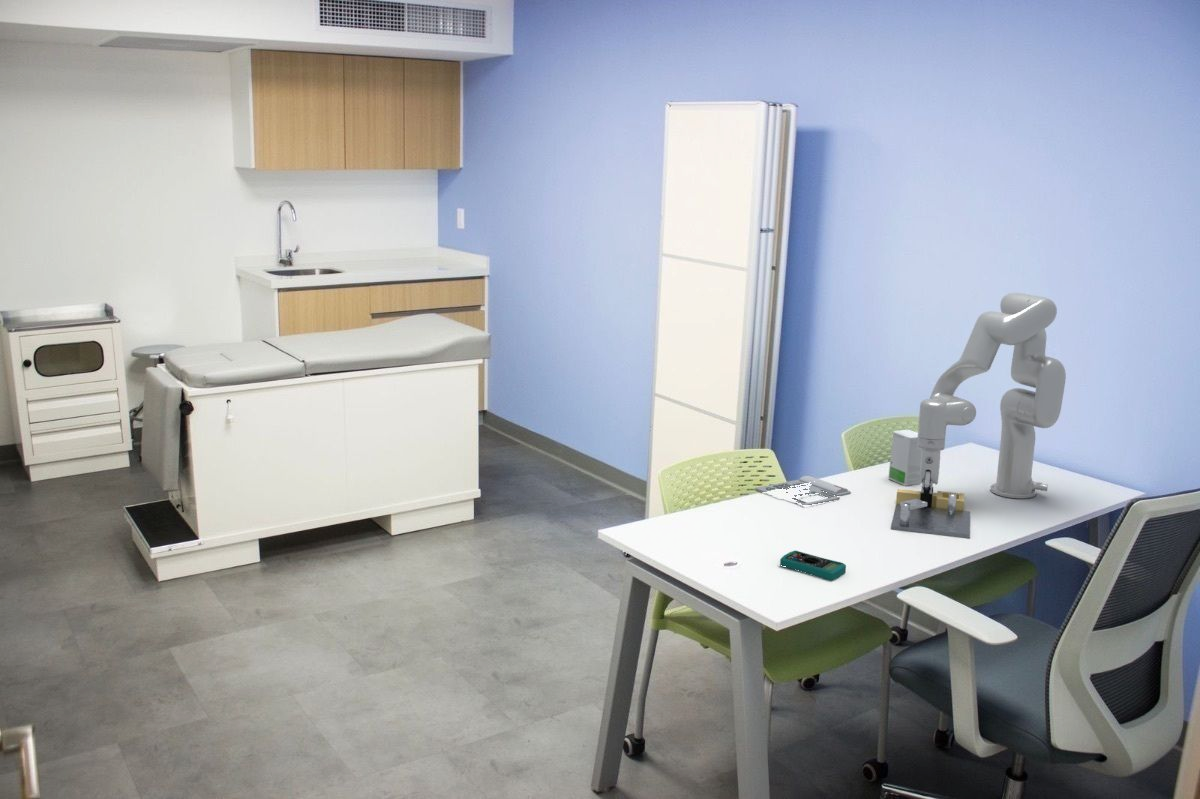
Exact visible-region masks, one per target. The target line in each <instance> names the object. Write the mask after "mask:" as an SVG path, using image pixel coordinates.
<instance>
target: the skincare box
mask: <svg viewBox="0 0 1200 799" xmlns="http://www.w3.org/2000/svg"><path fill="white" fill-rule="evenodd" d="M917 438H918V431H913V430H911V429H901V430H894V431H893V432H892V440H891V449H890V461H889V467H888V468H889V469H888V475H887V476H888V480H891V481H893V482H895V483H898V484H899V485H902V486H904V487H909V486H915V485H920V484H922V483H921V482H920V457H921V449H919V448H918V447H917Z"/></svg>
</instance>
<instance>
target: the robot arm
mask: <svg viewBox="0 0 1200 799" xmlns="http://www.w3.org/2000/svg"><path fill="white" fill-rule="evenodd" d="M999 305H1000V311H1001V312H999V311H985V312H982V313H981V314H980V315H979V316H978V318H977V319H976V322H975V324H974V326H973V328H972V329H971V333H970V336H969V338H968V339H967V343H966V345H965V347H964V349H963V352H962V353H961V356H960V358H959V359H958V361H956V362H955V363H953V364H952V365H951V366H950V367H948V368H947V369H946V371H944V372H943V373H942V374H941V375H940V376H939V377H938V379H937V381H936V383H935V385H934V387H933V389H932V391H931V394H930V397H929V398H926V399H923V400H922V401H921V402H920V404H919V415H918V416H919V417H918V428H917V433H918V438H917V447H918V448H919V449H921V457H920V482H921V484H922V485H921V490H920V491H922V493H921V496H920V500H921V501H924V502H927V506H926V507H931V506H932V493H934V485H935V486H936V485H938V484H939V479H940V464H941V451H944V450H945V449H946V448H945V447H946V446H945V445H946V433H947V432H946V431H947V426H957V427H958V426H960V427H962V426H966V425H970V423H972V422H974V420H975V419H976V416H977V409H976V406H975V405H974V404H973V403H972V402H971V401H969V400H967V399H963V398H960V397H959V396H954V394H955V392H956V390H957V389H958V387H959V386H960V385H961V384H962V383H963V382H964V381H966V380H968V379H970V378H973V377H975V376H977V375H978V376H979V375H981V374H984V373H987V372H988V371H990V369H991V367H992V365H993V362H994V360H995V358H996V355H997V353H998V351H999V349H1000V346H1001V344H1002V345H1006V346H1014V347H1013V352H1012V359H1011V367H1010V376H1011V379H1012V380H1013V381H1014V382H1015V383H1017V384H1019V385H1023V386H1027V387H1030V388H1033V389H1035V391H1033V390H1029V389H1026V388H1019V387H1017V388H1011V389H1009V390H1007V391H1006V392H1005V393H1003V395H1002V396H1001V400H1000V404H999V408H1000V409H999V411H1000V417H1001V418H1000V419H1001V431H1000V442H999V454H998V463H997V472H996V473H997V474H996V481H995V482H996V483H993V484H991V485H990V492H992V494H995V495H996V496H997V495H998V496H1001V497H1005V498H1011V499H1022V500H1023V499H1030V498H1033V497H1035V496H1036V490H1037V491H1041V492H1043V491H1044V492H1048V484H1044V483H1043V482H1035V481H1033V477H1032V475H1033V474H1032V473H1033V465H1034V454H1035V446H1036V431H1035V427H1036V428H1040V429H1048V428H1051V427H1053V426H1054V425H1055V424H1056V423H1057V421H1058V419H1059V418H1060V414H1061V411H1062V406H1063V398H1064V392H1065V387H1066V386H1065V385H1066V381H1067V380H1066V378H1067V376H1066V375H1067V374H1066V369H1065V366H1064V364H1063V363H1062V361H1060V360H1058V359H1057V358H1054V357H1050V356H1046V348H1047V346H1046V345H1047V331H1046V329H1047V328H1048V327H1050V326H1051V324H1052V323H1053V322H1054V321H1055V319H1056V318H1057V313H1058V310H1057V305H1056V304H1055V302H1054V301H1053V300H1052V299H1050V298H1048V297H1043V296H1040V295H1039V296H1038V295H1032V294H1026V293H1023V292H1022V293H1020V292H1010V293H1007V294H1005V295H1004V296H1003V297H1002V299H1001V301H1000V304H999Z"/></svg>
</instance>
